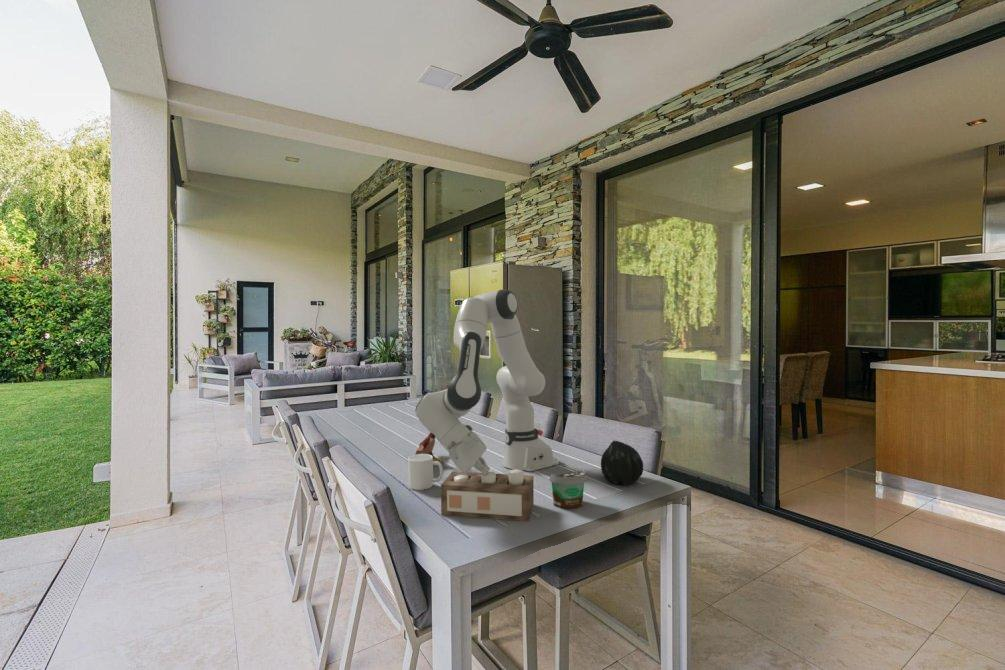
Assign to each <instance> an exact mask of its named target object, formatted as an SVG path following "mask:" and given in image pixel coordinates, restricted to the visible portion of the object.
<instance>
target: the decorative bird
mask: <svg viewBox="0 0 1005 670" xmlns="http://www.w3.org/2000/svg"><path fill="white" fill-rule="evenodd" d="M435 442H436V436H435V435H434V434H433V433H431V432H429V434H428V435H426V437H425V438H424V439H423V440H422V441H421V442H419V445H418V448H417V450H416V451H415V454H414V455H416V454H429V455H432V456H433V461H438V462H440V463H441V464H442V463H443V461H444V459H439V458H438V457H436V456H435V455H434V453H433V450H434V446H435V444H436V443H435Z"/></svg>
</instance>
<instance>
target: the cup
mask: <svg viewBox="0 0 1005 670" xmlns="http://www.w3.org/2000/svg"><path fill="white" fill-rule="evenodd" d="M415 454H416V453H415ZM415 454H413V455H410V456H408V460H407V461H408V487H409V489H411V490H413V489H415V490H414V491H423V490H422V489H426V490H429V489H431V488H432V487H433V486H434V483H438V482H441V480H442V479H443V476H444V468H443V465H442V463H440V462H441V461H440V462H439V460H436V461H433V456H432V455H429V454H416V455H415ZM434 466H438V468H439V476H438V477H434ZM430 487H431V488H430ZM428 488H429V489H428Z"/></svg>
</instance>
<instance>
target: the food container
mask: <svg viewBox="0 0 1005 670" xmlns="http://www.w3.org/2000/svg"><path fill="white" fill-rule="evenodd" d="M548 481H550V482H551V490H552V500H553V506H554V507H555V508H558V509H563V510H576V509H579V508H581V507H582V506H583V500H584V490H585V489H584V488H585V482H586V481H587V474H586V471H585V470H584V469H583V468H582V469H581V471H578V472H565V473H563V474H559V475H555V474H552V473H551V474H550V477H549V480H548Z"/></svg>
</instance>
